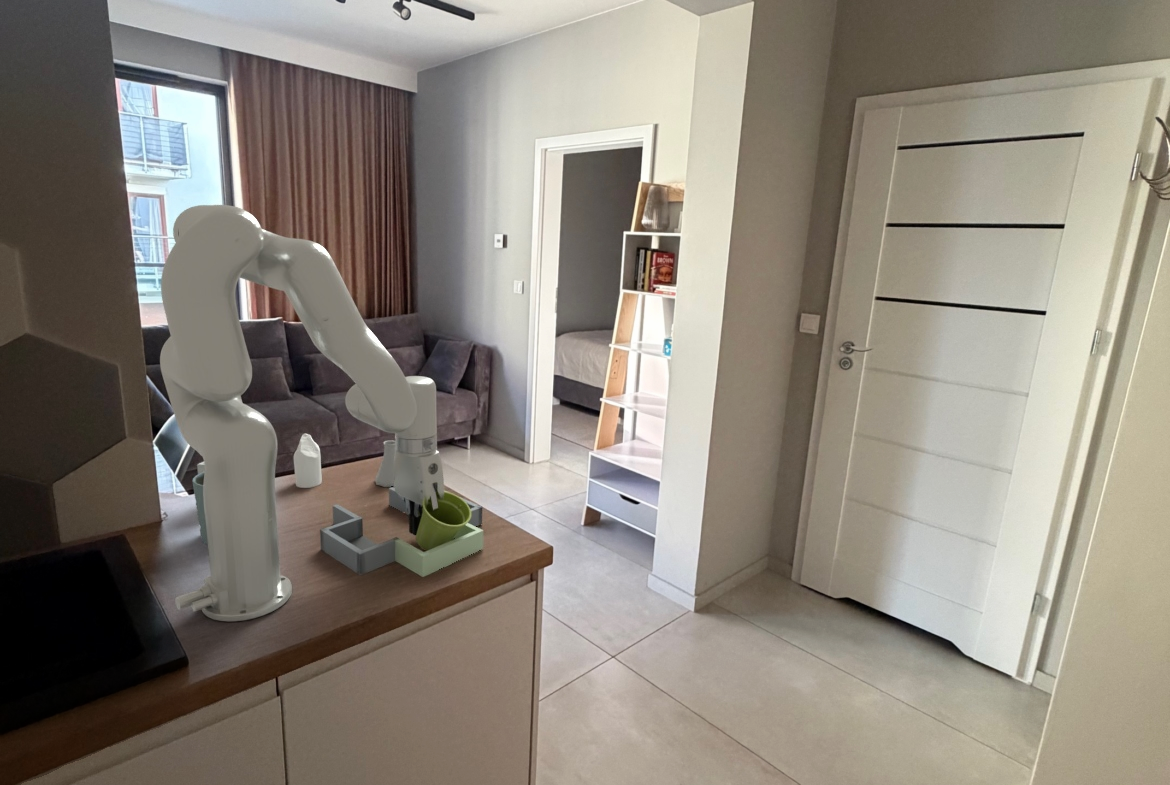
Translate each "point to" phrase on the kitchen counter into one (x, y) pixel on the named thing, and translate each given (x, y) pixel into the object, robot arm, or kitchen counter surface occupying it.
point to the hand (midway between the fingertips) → (418, 531)
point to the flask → (387, 466)
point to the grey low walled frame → (396, 543)
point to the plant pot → (442, 521)
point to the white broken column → (307, 463)
